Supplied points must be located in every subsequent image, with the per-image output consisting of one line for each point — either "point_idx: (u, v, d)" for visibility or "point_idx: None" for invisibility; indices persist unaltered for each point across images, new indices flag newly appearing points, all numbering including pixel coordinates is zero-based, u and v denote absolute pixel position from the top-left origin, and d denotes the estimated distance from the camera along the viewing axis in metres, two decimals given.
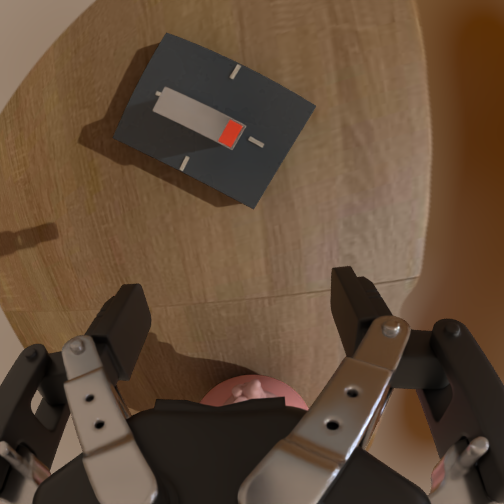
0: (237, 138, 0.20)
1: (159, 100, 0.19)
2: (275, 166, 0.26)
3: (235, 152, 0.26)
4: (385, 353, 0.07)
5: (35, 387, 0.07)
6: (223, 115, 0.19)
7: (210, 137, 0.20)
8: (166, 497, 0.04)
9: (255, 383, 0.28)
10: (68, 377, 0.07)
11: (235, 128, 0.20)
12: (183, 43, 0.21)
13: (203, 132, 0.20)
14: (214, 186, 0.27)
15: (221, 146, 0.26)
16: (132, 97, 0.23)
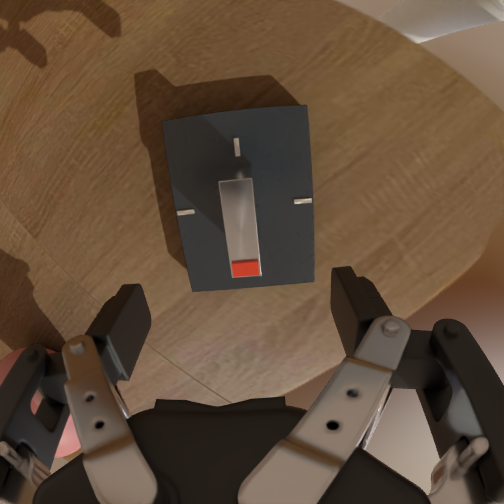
0: (245, 275, 0.20)
1: (233, 182, 0.18)
2: (240, 285, 0.27)
3: None
4: (385, 353, 0.07)
5: (35, 387, 0.07)
6: (257, 252, 0.20)
7: (229, 254, 0.20)
8: (166, 497, 0.04)
9: None
10: (68, 377, 0.07)
11: (252, 270, 0.20)
12: (304, 131, 0.22)
13: (229, 245, 0.19)
14: (185, 250, 0.26)
15: (224, 233, 0.25)
16: (216, 114, 0.21)
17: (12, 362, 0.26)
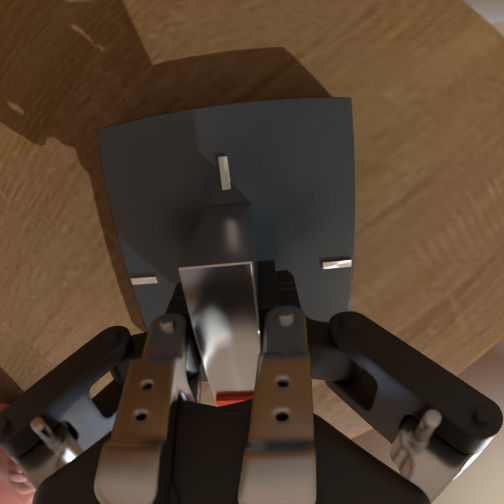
0: None
1: (211, 270, 0.08)
2: None
3: None
4: (291, 339, 0.08)
5: (102, 373, 0.08)
6: None
7: (211, 386, 0.10)
8: (166, 497, 0.04)
9: None
10: (143, 354, 0.08)
11: None
12: (345, 145, 0.12)
13: (211, 374, 0.10)
14: None
15: None
16: (186, 114, 0.11)
17: None
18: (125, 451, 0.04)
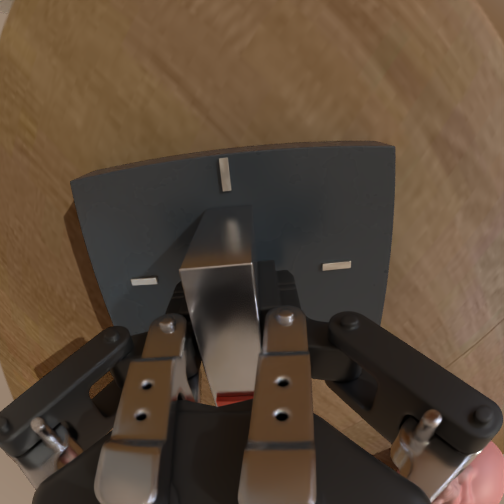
0: None
1: (211, 271, 0.08)
2: (382, 278, 0.15)
3: (313, 296, 0.15)
4: (290, 340, 0.08)
5: (102, 373, 0.08)
6: None
7: (212, 387, 0.10)
8: (166, 497, 0.04)
9: (447, 487, 0.15)
10: (143, 354, 0.08)
11: None
12: (106, 181, 0.12)
13: (211, 375, 0.10)
14: None
15: None
16: (107, 303, 0.15)
17: None
18: (125, 451, 0.04)
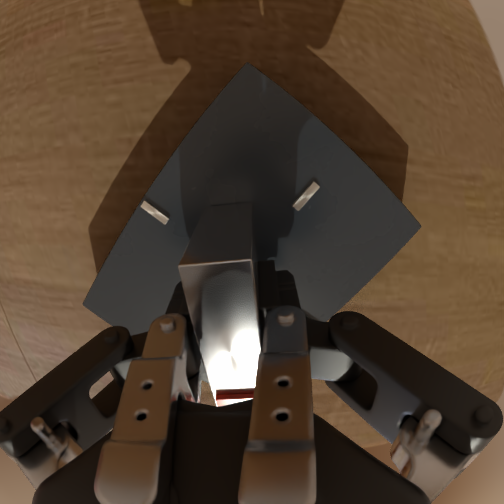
0: None
1: (211, 268, 0.08)
2: None
3: (168, 299, 0.15)
4: (291, 339, 0.08)
5: (101, 373, 0.08)
6: None
7: (211, 384, 0.10)
8: (166, 497, 0.04)
9: None
10: (143, 353, 0.08)
11: None
12: (390, 251, 0.14)
13: (210, 372, 0.10)
14: (111, 256, 0.14)
15: None
16: (324, 129, 0.12)
17: None
18: (125, 451, 0.04)
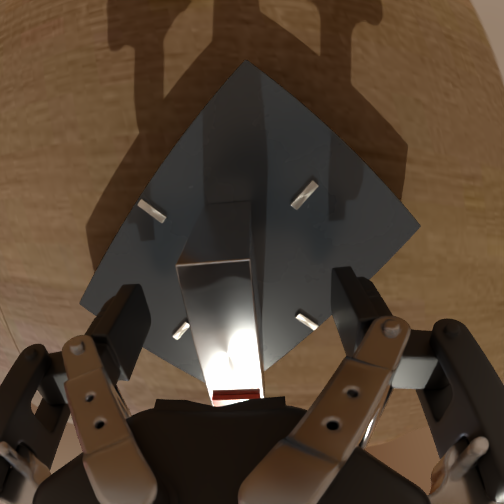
0: None
1: (208, 267, 0.08)
2: (143, 344, 0.16)
3: (165, 299, 0.15)
4: (385, 353, 0.07)
5: (35, 387, 0.07)
6: (259, 383, 0.10)
7: (208, 385, 0.10)
8: (166, 497, 0.04)
9: None
10: (68, 377, 0.07)
11: None
12: (389, 251, 0.14)
13: (207, 373, 0.10)
14: (108, 255, 0.14)
15: (177, 280, 0.14)
16: (323, 128, 0.12)
17: None
18: (125, 451, 0.04)
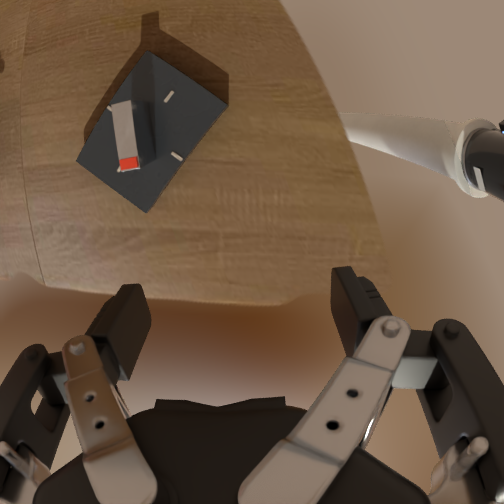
0: (129, 169, 0.26)
1: (119, 104, 0.23)
2: (103, 179, 0.31)
3: (115, 150, 0.30)
4: (385, 353, 0.07)
5: (35, 387, 0.07)
6: (136, 150, 0.25)
7: (118, 153, 0.25)
8: (166, 497, 0.04)
9: None
10: (68, 377, 0.07)
11: (132, 163, 0.25)
12: (211, 117, 0.29)
13: (118, 147, 0.25)
14: (93, 132, 0.29)
15: None
16: (175, 70, 0.27)
17: None
18: (125, 451, 0.04)
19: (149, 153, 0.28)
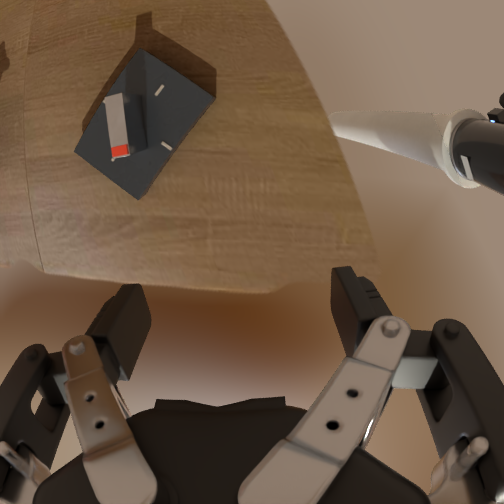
0: (120, 156, 0.27)
1: (112, 96, 0.25)
2: (99, 168, 0.33)
3: (109, 140, 0.32)
4: (385, 353, 0.07)
5: (35, 387, 0.07)
6: (126, 138, 0.27)
7: (110, 141, 0.27)
8: (166, 497, 0.04)
9: None
10: (68, 377, 0.07)
11: (123, 150, 0.27)
12: (199, 109, 0.31)
13: (110, 135, 0.26)
14: (89, 124, 0.31)
15: None
16: (165, 65, 0.28)
17: None
18: (125, 451, 0.04)
19: (140, 142, 0.30)
